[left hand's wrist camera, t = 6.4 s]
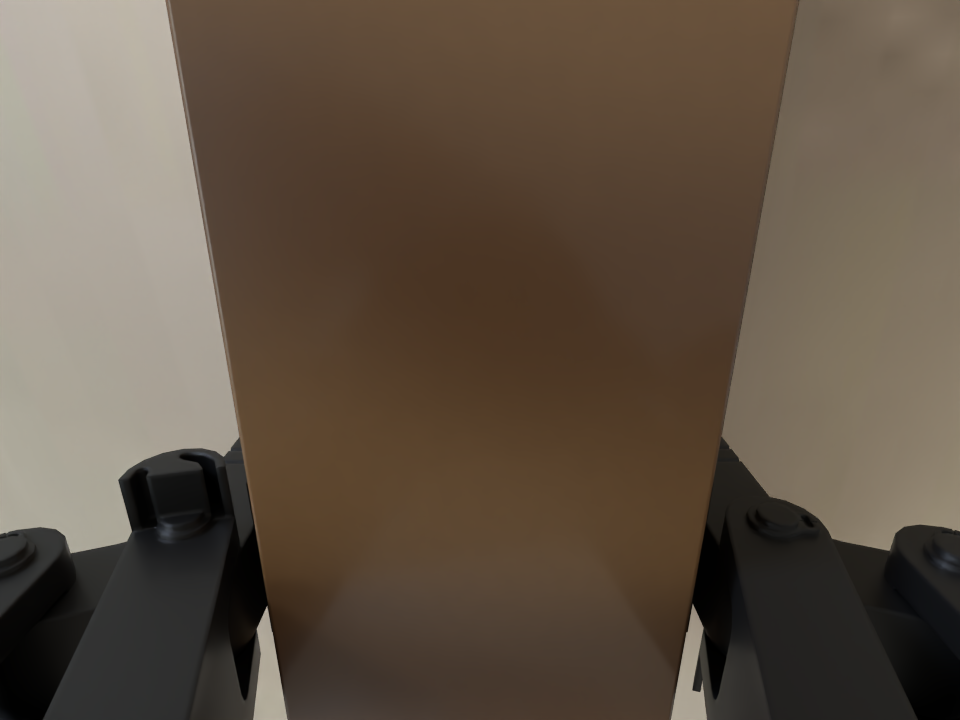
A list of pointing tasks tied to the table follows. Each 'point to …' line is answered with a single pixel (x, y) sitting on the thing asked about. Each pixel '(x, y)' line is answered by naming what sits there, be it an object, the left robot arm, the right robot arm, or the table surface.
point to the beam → (480, 330)
